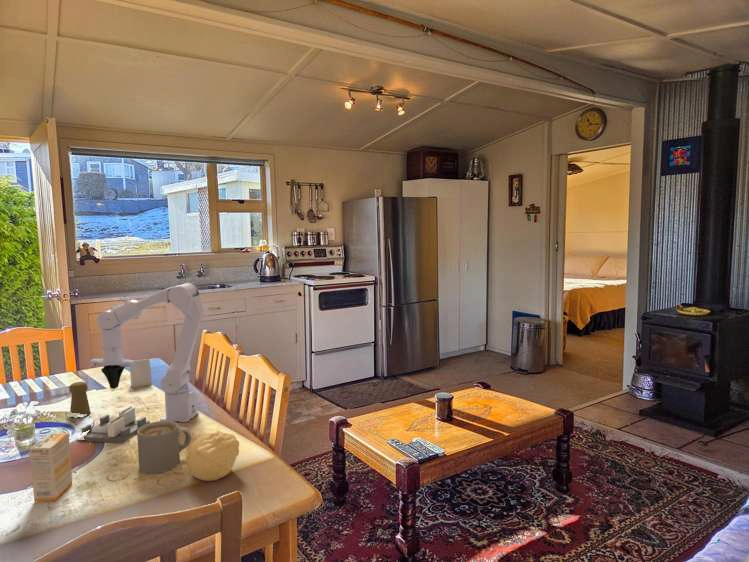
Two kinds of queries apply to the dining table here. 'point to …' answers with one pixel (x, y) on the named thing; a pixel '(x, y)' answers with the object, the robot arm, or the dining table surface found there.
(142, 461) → the coffee mug
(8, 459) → the dining table surface
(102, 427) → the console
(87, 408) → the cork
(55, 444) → the supplement box
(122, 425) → the near fader cap
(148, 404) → the dining table surface
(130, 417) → the far fader cap
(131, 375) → the beige rectangular box
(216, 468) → the sculpture
